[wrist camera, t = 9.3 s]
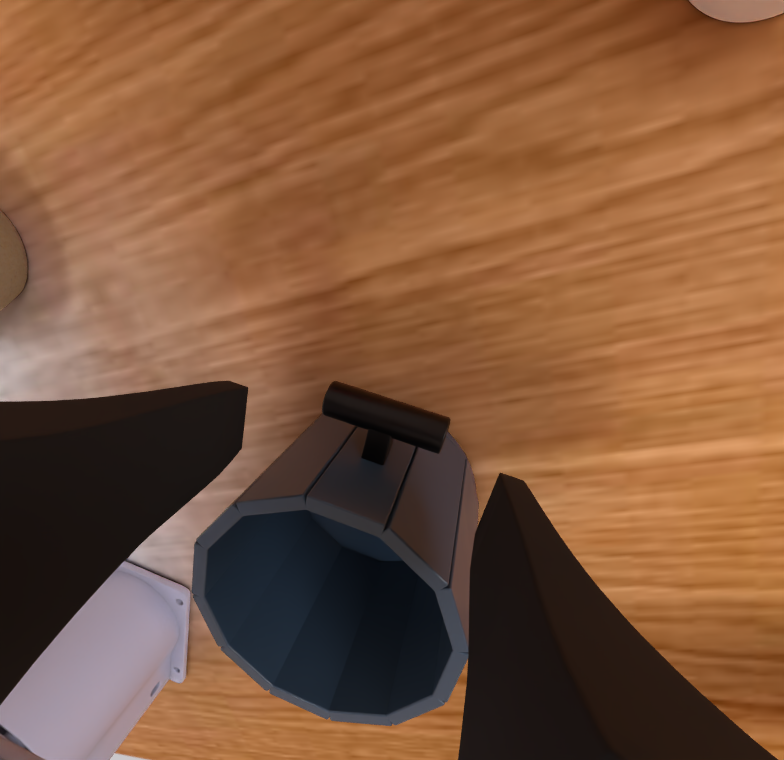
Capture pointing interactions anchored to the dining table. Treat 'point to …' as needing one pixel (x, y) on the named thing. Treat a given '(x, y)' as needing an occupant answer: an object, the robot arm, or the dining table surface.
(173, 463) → the robot arm
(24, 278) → the flower pot
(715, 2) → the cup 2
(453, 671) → the blue cylindrical container
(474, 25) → the dining table surface
